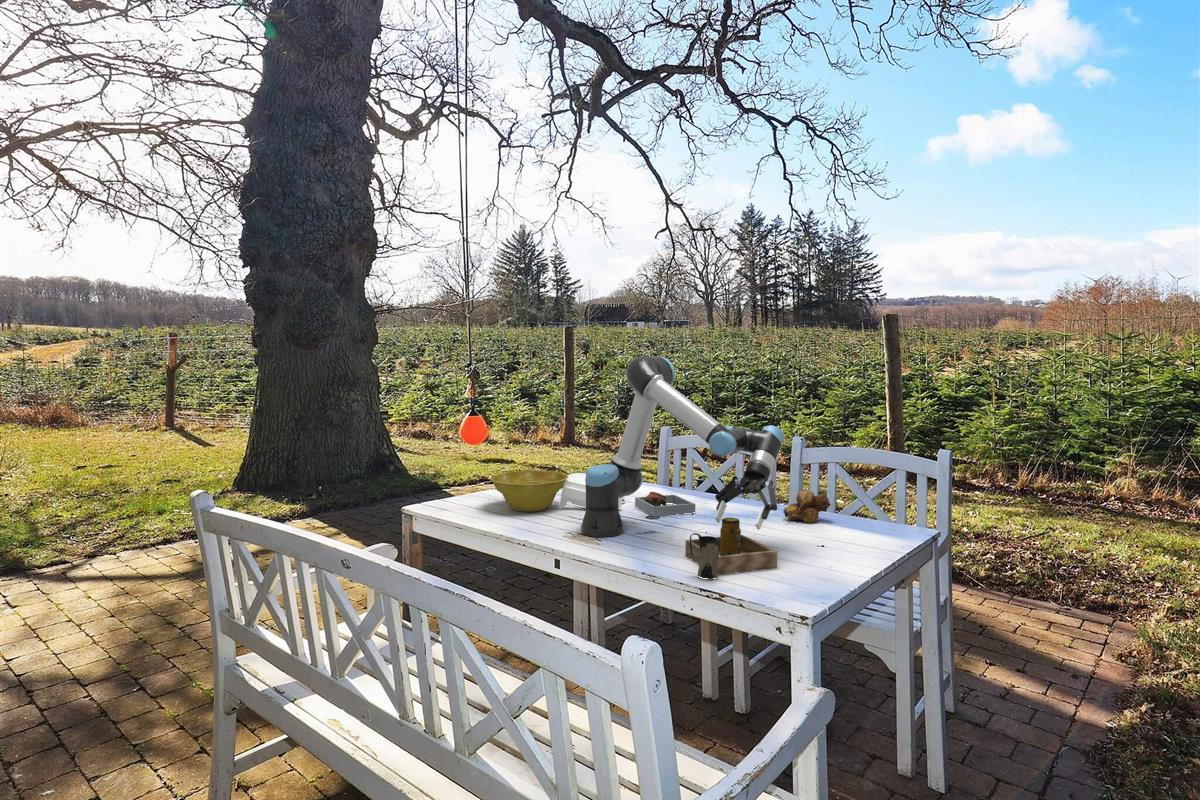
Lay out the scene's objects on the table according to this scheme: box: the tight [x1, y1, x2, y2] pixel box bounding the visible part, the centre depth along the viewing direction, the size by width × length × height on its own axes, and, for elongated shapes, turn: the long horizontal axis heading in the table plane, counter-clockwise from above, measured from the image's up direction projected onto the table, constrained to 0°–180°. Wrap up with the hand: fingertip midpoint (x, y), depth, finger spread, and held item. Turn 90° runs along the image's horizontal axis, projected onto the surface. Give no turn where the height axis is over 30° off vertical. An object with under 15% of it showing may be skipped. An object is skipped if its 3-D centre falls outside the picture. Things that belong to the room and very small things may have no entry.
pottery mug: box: [645, 491, 667, 506], centre depth 276 cm, size 12×10×8 cm
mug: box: [689, 532, 719, 579], centre depth 190 cm, size 8×6×12 cm
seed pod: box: [782, 489, 832, 524], centre depth 255 cm, size 13×16×15 cm
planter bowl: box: [489, 469, 569, 513], centre depth 280 cm, size 32×32×13 cm
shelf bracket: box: [558, 479, 624, 510], centre depth 277 cm, size 6×25×13 cm, turn 82°
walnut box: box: [684, 534, 778, 575], centre depth 204 cm, size 20×20×5 cm
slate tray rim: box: [634, 494, 696, 517], centre depth 275 cm, size 18×20×4 cm
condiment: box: [719, 516, 742, 556], centre depth 203 cm, size 7×8×12 cm
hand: (736, 523), depth 205 cm, fingers open, 13 cm apart
